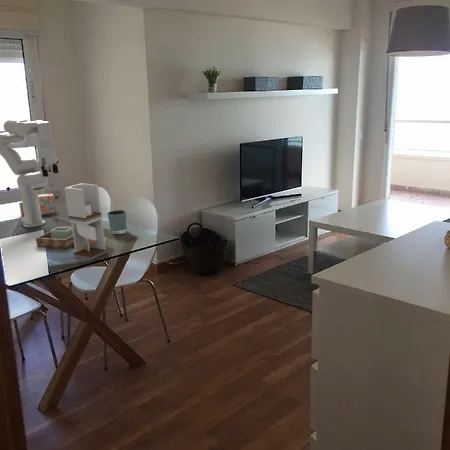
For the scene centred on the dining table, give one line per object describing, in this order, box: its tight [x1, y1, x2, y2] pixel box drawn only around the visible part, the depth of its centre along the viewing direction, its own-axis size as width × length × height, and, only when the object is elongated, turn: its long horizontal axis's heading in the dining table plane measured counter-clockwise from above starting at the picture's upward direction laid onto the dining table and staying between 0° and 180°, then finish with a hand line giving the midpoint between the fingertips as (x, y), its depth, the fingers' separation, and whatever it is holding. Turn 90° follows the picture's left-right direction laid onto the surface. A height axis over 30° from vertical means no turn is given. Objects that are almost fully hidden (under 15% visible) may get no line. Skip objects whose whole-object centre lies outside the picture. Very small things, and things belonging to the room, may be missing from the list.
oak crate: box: [35, 225, 74, 250], centre depth 278 cm, size 18×22×5 cm
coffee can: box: [33, 186, 46, 195], centre depth 356 cm, size 10×10×14 cm
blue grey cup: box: [107, 209, 128, 232], centre depth 288 cm, size 10×10×12 cm
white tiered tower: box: [63, 182, 107, 261], centre depth 251 cm, size 11×11×35 cm
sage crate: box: [49, 226, 73, 239], centre depth 278 cm, size 10×6×6 cm, turn 74°
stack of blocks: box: [18, 193, 57, 217], centre depth 337 cm, size 21×6×12 cm, turn 104°
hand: (50, 174), depth 289 cm, fingers open, 9 cm apart
